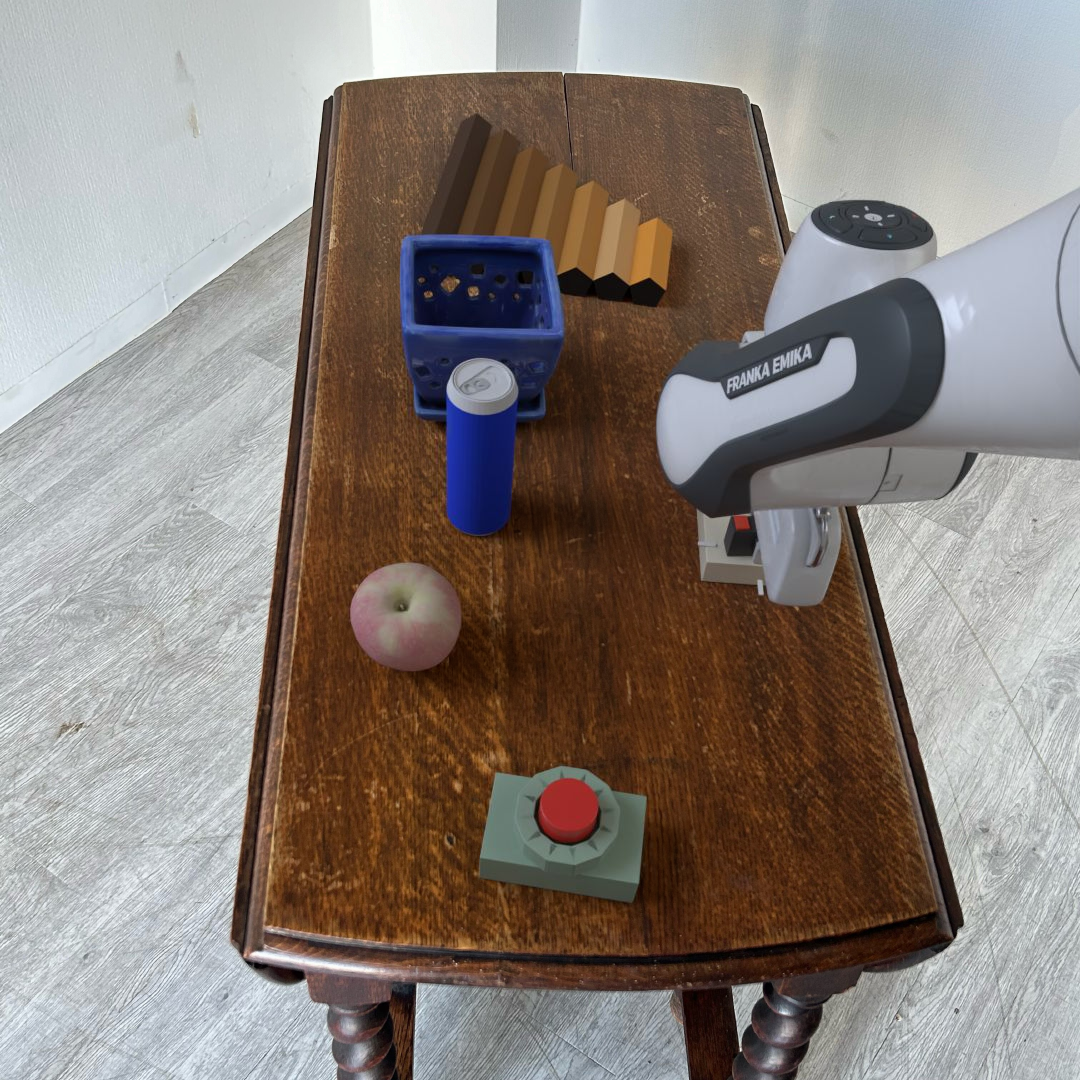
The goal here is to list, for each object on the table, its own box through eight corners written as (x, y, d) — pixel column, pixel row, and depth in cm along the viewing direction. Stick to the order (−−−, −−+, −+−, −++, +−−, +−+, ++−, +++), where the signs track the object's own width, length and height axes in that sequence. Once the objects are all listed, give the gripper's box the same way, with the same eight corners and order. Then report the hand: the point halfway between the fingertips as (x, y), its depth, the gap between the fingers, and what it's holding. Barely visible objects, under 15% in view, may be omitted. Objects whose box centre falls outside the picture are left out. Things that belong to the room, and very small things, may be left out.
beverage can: (484, 482, 93) (489, 346, 82) (522, 520, 91) (533, 385, 79) (434, 510, 91) (432, 373, 79) (472, 550, 89) (476, 415, 77)
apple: (333, 661, 81) (323, 596, 75) (394, 591, 86) (390, 524, 79) (423, 713, 79) (420, 650, 73) (481, 638, 83) (484, 573, 77)
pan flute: (460, 138, 126) (413, 272, 110) (461, 110, 124) (412, 243, 108) (679, 168, 125) (662, 307, 109) (683, 140, 123) (668, 279, 107)
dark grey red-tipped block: (785, 540, 88) (795, 513, 86) (789, 555, 87) (799, 529, 85) (723, 540, 88) (731, 513, 85) (726, 556, 87) (734, 529, 84)
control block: (640, 814, 75) (651, 779, 71) (632, 907, 71) (642, 876, 67) (495, 790, 76) (497, 755, 72) (477, 881, 72) (479, 849, 68)
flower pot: (545, 339, 105) (554, 232, 96) (556, 439, 97) (567, 333, 88) (404, 338, 104) (399, 230, 95) (403, 440, 96) (398, 333, 87)
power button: (598, 795, 71) (601, 782, 70) (592, 847, 69) (595, 835, 67) (542, 786, 71) (544, 773, 70) (534, 838, 69) (536, 826, 67)
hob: (812, 618, 87) (821, 598, 84) (695, 610, 86) (701, 590, 84) (786, 428, 100) (793, 407, 98) (684, 420, 100) (689, 399, 98)
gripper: (880, 533, 70) (821, 655, 80) (824, 321, 83) (780, 450, 93) (780, 530, 69) (735, 652, 80) (740, 317, 82) (706, 447, 93)
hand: (759, 542), depth 87 cm, fingers closed on dark grey red-tipped block, 2 cm apart
